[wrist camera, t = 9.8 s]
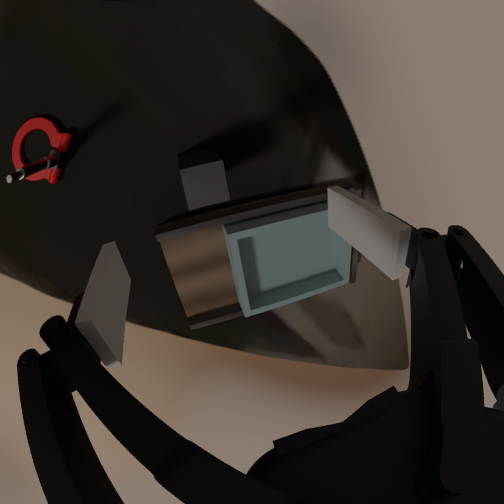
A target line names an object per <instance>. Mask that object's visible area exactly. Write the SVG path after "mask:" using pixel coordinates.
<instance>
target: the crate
mask: <svg viewBox="0 0 504 504" xmlns="http://www.w3.org/2000/svg"><path fill="white" fill-rule="evenodd" d="M222 227H223V231H224V236H225V241H226V246H227V250H228V255H229V260H230V264H231V269H232V273H233V278H234V282H235V287H236V291H237V296H238V300H239V303H240V306H241V308H242V311H243V313H244V316H245V317H248V316H251V315H255V314H258V313H261V312H264V311H267V310H271V309H274V308H277V307H280V306H283V305H286V304H289V303H292V302H295V301H298V300H301V299H304V298H307V297H310V296H313V295H316V294H319V293H322V292H324V291H327V290H330V289H333V288H336V287H338V286H341V285H344V284H347V283H349V275H350V262H351V247H352V245H350V244H349V243H348V242H347V241H346V240H344V239H343V238H342V237H341V236H339V235H338V234H337V233H336V232H334V231H333V230H332V229H331V228H329V227H328V200H324V201H320V202H315V203H311V204H306V205H302V206H298V207H293V208H289V209H285V210H280V211H276V212H272V213H268V214H264V215H260V216H255V217H251V218H247V219H243V220H239V221H235V222H231V223H227V224H224V225H222Z"/></svg>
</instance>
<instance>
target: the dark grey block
mask: <svg viewBox="0 0 504 504" xmlns="http://www.w3.org/2000/svg"><path fill="white" fill-rule="evenodd" d="M177 156H178V163H179V169H180V174H181V178H182V183H183V187H184V191H185V195H186V200H187V204H188V208H189V210H192V209H196V208H200V207H204V206H208V205H212V204H216V203H220V202H224V201H228V200H230V198H229V193H228V187H227V181H226V176H225V170H224V164H223V160H222V159H221V158H220V157H219V156H217V155H216V154H215V153H214V152H213V151H211V150H210V149H209V148H206V149H202V150H197V151H193V152H189V153H185V154H181V155H177Z"/></svg>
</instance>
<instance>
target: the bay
mask: <svg viewBox="0 0 504 504" xmlns="http://www.w3.org/2000/svg"><path fill="white" fill-rule="evenodd" d="M333 186H339V187H341V188H343V189H345V190H347V191H349V192H351V193H353V194H355V195H356V196H358V197H360V198H361V189H360V188H358V187H356V186H354V185H352V184H350V183H348V182H342V183H337V184H332V185H326V186H321V187H316V188H311V189H306V190H301V191H296V192H292V193H287V194H282V195H278V196H273V197H269V198H264V199H260V200H256V201H251V202H247V203H243V204H238V205H234V206H230V207H226V208H222V209H218V210H214V211H210V212H206V213H202V214H199V215H195V216H191V217H187V218H183V219H180V220H176V221H172V222H169V223H165V224H162V225H158V226H156V233H155V236H156V239H157V242H160V243H161V246H162V249H163V252H164V255H165V258H166V261H167V264H168V267H169V270H170V272H171V275H172V278H173V281H174V283H175V286H176V289H177V291H178V294H179V297H180V299H181V302H182V304H183V307H184V310H185V312H186V315H187V317H188V323H189V327H190V329H191V330H193V329H196V328H200V327H204V326H207V325H211V324H215V323H218V322H222V321H225V320H229V319H232V318H236V317H239V316H243V315H244V313H243V311H242V308H241V306H240V303H239V300H238V296H237V291H236V287H235V282H234V278H233V273H232V269H231V264H230V260H229V255H228V250H227V246H226V241H225V236H224V231H223V227H222V225H224V224H227V223H231V222H235V221H239V220H243V219H247V218H251V217H255V216H260V215H264V214H268V213H272V212H276V211H280V210H285V209H289V208H293V207H298V206H302V205H306V204H311V203H315V202H320V201H324V200H328V190H327V188H328V187H333ZM357 262H358V250H357V249H355V248H354V247H353V246H352V247H351V262H350V275H349V282H350V283H354V282H356V272H357Z"/></svg>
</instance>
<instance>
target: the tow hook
mask: <svg viewBox="0 0 504 504" xmlns="http://www.w3.org/2000/svg"><path fill="white" fill-rule="evenodd" d="M34 129H42V130H43V131H45V132H46V133H47V135H48V136H49V139H50V143H51V146H53V147H55V148H58V149H55V150H52V151H51V153H50V156H47V157H44V158H41V160H39V161H36V162H33V163H31V164H28V165H27V164H26V163H25V162H24V159H23V156H22V145H23V142H24V140H25V137H26V136H27V135H28V133H30V132H31V131H32V130H34ZM71 138H72V134H71V133H68V132H63V133H62V132H60V131H59V128H58V127H57V126H56V124H55V123H54V122H53V121H51V120H50V119H48V118H44V117H37V118H33V119H30V120H28V121H27V122H26V123H25V124H23V125H22V127H21V128H20V129H19V131H18V132H17V134H16V136H15V139H14V142H13V147H12V157H13V163H14V165H15V168H16V170H17V171H16V172H14V173H12V174H9V175H8V176H7V182H8V183H11V182H13V181H15V180H17V179H19V180H22V179H24V178H25V179H27V180H30V181H37V180H40V179H43V178H45V179H48V181H49V182H50V183H53V184H56V183H57V182H58V178H59V175H60V171H61V168H62V167H63V164H64V160H65V157H66V154H67V149H68V146H69V143H70V141H71Z"/></svg>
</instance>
